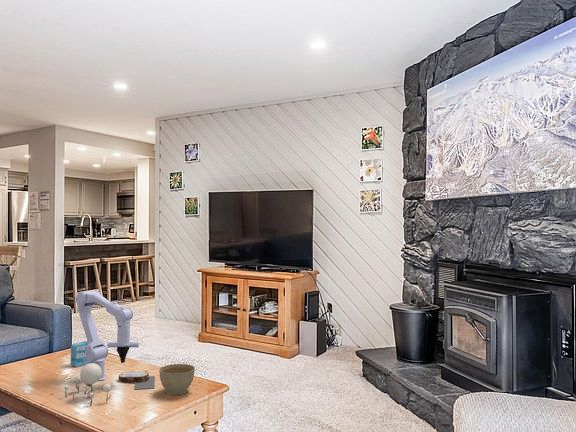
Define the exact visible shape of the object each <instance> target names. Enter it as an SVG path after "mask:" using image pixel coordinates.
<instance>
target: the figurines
mask: <svg viewBox="0 0 576 432" xmlns="http://www.w3.org/2000/svg"><path fill="white" fill-rule="evenodd" d="M101 375H102V370H101V368H100V366H99V365H97V364H95V363H90V364H87V365H85V366H82V368H81V370H80V373H79V375H77V376H76V377H74V382H75V388H76V391H77V393H80V385H79V384H81V383H82V382H83V384H85V385H86V386H83V388H84V393H83V394H84V395H86V397H87V398H89V399H90V404H89V406H91V407H92V405H93V398H94V396H95V391H94V390H93V385H94V384H96V383H98V382H99V379H100V378H101ZM69 387H70V386H69V385H65V386H64V387H63V388H64V391H65V392H64V397H65V398H68V397H67V390H68V389H69ZM88 388H90V390H87V389H88ZM111 389H112V386H111V384H109V383H108V384H107V383H106V384H104V385H103V387H102V390H103V392H105V393H106V398H105V403H108V401H109V399H110V398H111V397H112V394H110V395H109V393H108V392H110V391H111ZM108 395H109V396H108ZM72 401H75V392H74V391H73V392H72Z"/></svg>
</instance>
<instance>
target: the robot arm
mask: <svg viewBox="0 0 576 432" xmlns="http://www.w3.org/2000/svg"><path fill="white" fill-rule="evenodd" d="M75 303H76V306H77V311H78V314H79V317H80V318H79V319H80V321H81V323H82V328H83V331H84V335H85V338H86V341H88V345H87V346H86V348H85V352H86V359H87V360H88V361H86V362H85V364H84V366H85V365H87V364H90V363H95V364H97V365H99V366H100V368H101V370H102V375H101V378H100V379H99V381H105V379H106V376H107V375H106V374H105V360H106V359H107V357H108V355H109V348H110V349H111V348H116V352H117V354H118V357H119V359H120V363H121V364H124V363H125V362H126V358H127V354H128V352H129V350H130V348H135V349H136V348H139V347H140V342H131V341H130V340H131V337H130V335H131V319H133V316H134V314H133V313H134V312H133V311H132V309H131V308H128V307H124V305H123V306H122V305H120V304H118V302H117V301H109V300H108V299H107V298H105V296H103V295H101V292H100V291H98V290H97V289H92V290H84V291H78V293H77V294H76V297H75ZM96 304H98V305H99V306H101V307H103V308H104V309H105V311H106V312H107V313H108V314H110V315H112V317H114V319H115V321H116V326H117V331H116V332H117V333H116V334H117V336H116V338H117V341H116V342H115V341H114V342H108V343H107V346H106V343H105V342H104V341H103V340H101V339H100V337H99V333H98V330H97V328H96V327H97V326H96V324H95V321H94V317H93V314H92V308H93V307H94V306H95V305H96ZM94 347H96V348H94ZM84 366H83V367H84ZM99 381H98V382H99Z"/></svg>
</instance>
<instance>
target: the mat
mask: <svg viewBox="0 0 576 432" xmlns="http://www.w3.org/2000/svg"><path fill="white" fill-rule="evenodd" d="M155 377H156V376H155V375H152V376H151V375H149V379H148V380H147V381H144V382H134V383H135V384H134V391H139V390H140V391H141V390H150V389H152V390H154V389H155Z"/></svg>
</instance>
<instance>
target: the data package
mask: <svg viewBox="0 0 576 432" xmlns="http://www.w3.org/2000/svg"><path fill="white" fill-rule="evenodd" d="M87 345H88V341H87V340H84V341H81V342H79V341H78V342H75V343H73V344H71V346H70V365H71V366H72V367H75V368H80V367H84V364H85V362H86V361H88V360H87V359H86V352H85V348H86V346H87ZM94 348H96V347H94Z"/></svg>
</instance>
